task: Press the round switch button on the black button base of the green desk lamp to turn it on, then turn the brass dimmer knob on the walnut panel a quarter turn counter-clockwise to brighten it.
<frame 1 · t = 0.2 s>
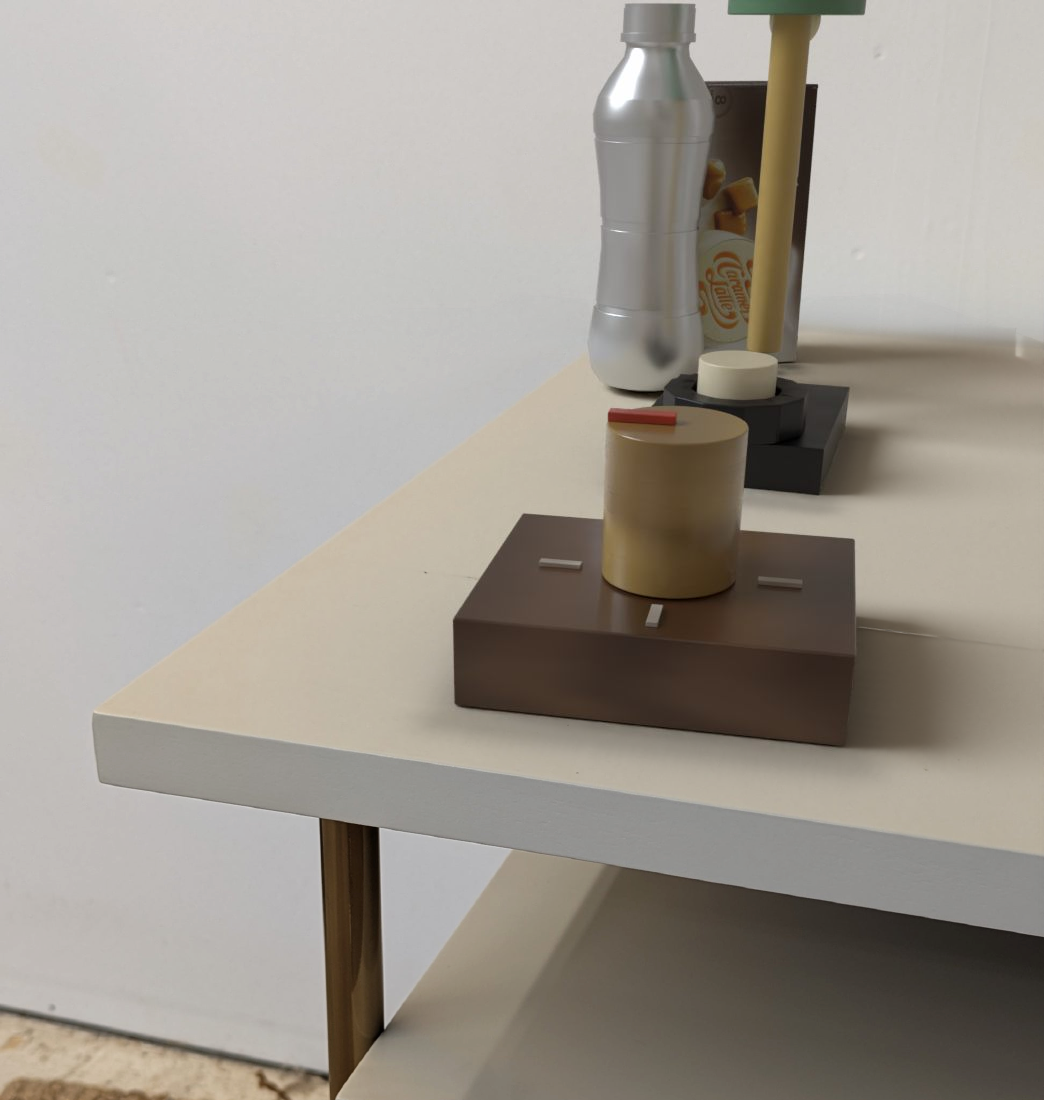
lamp: (785, 134, 65), on the black button base, point 14 cm above the table
dimmer knob: (673, 496, 42), point 6 cm above the table, hinge at 0.0°
coffee box: (712, 358, 86), on the table
black button base: (741, 451, 67), on the table
dimmer panel: (663, 657, 45), on the table
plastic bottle: (643, 392, 78), on the table
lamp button: (737, 377, 62), point 4 cm above the table, slide at 0.1 cm
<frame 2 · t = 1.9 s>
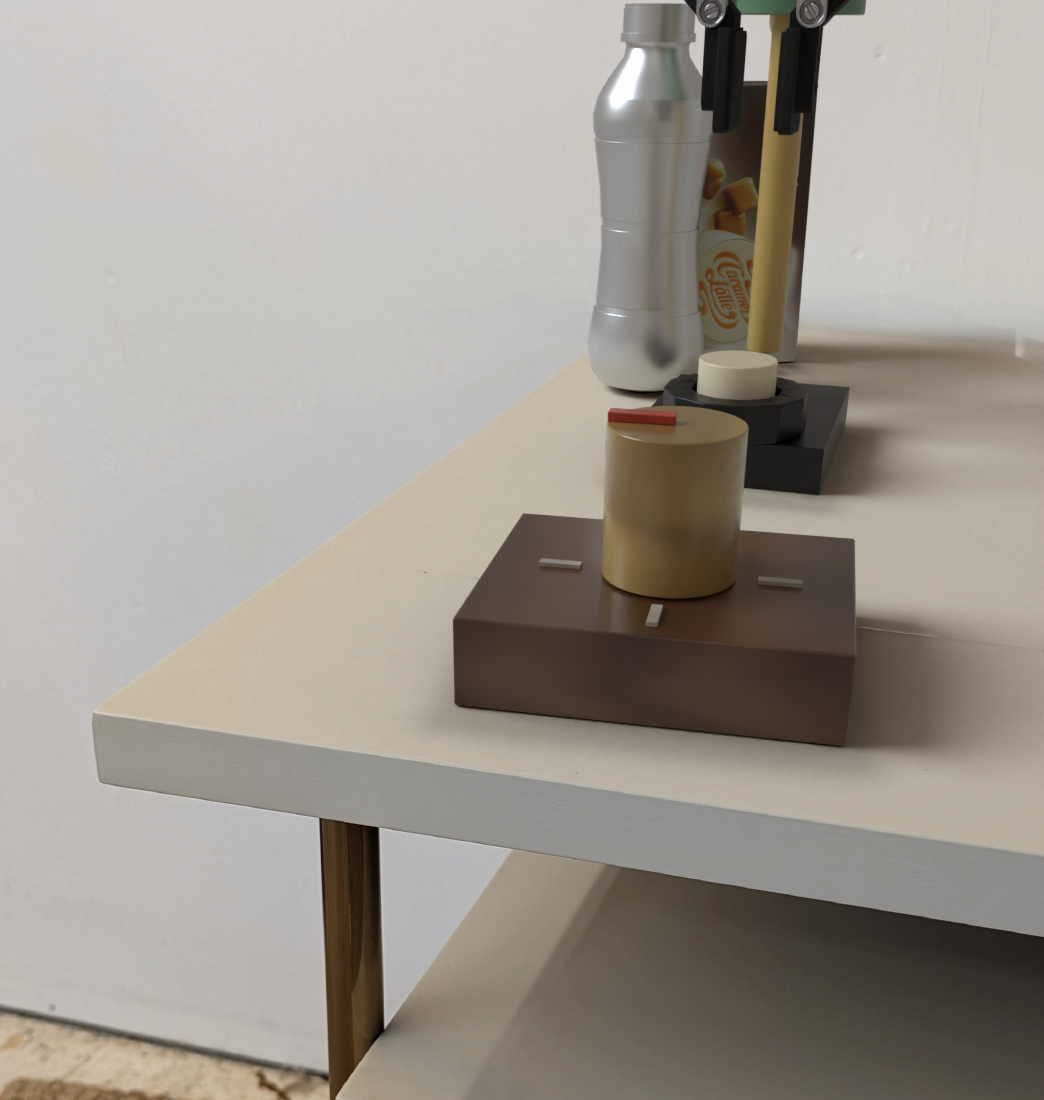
hand: (756, 128, 57), 15 cm above the table, tool pointing down, fingers closed
nothing on the table moved.
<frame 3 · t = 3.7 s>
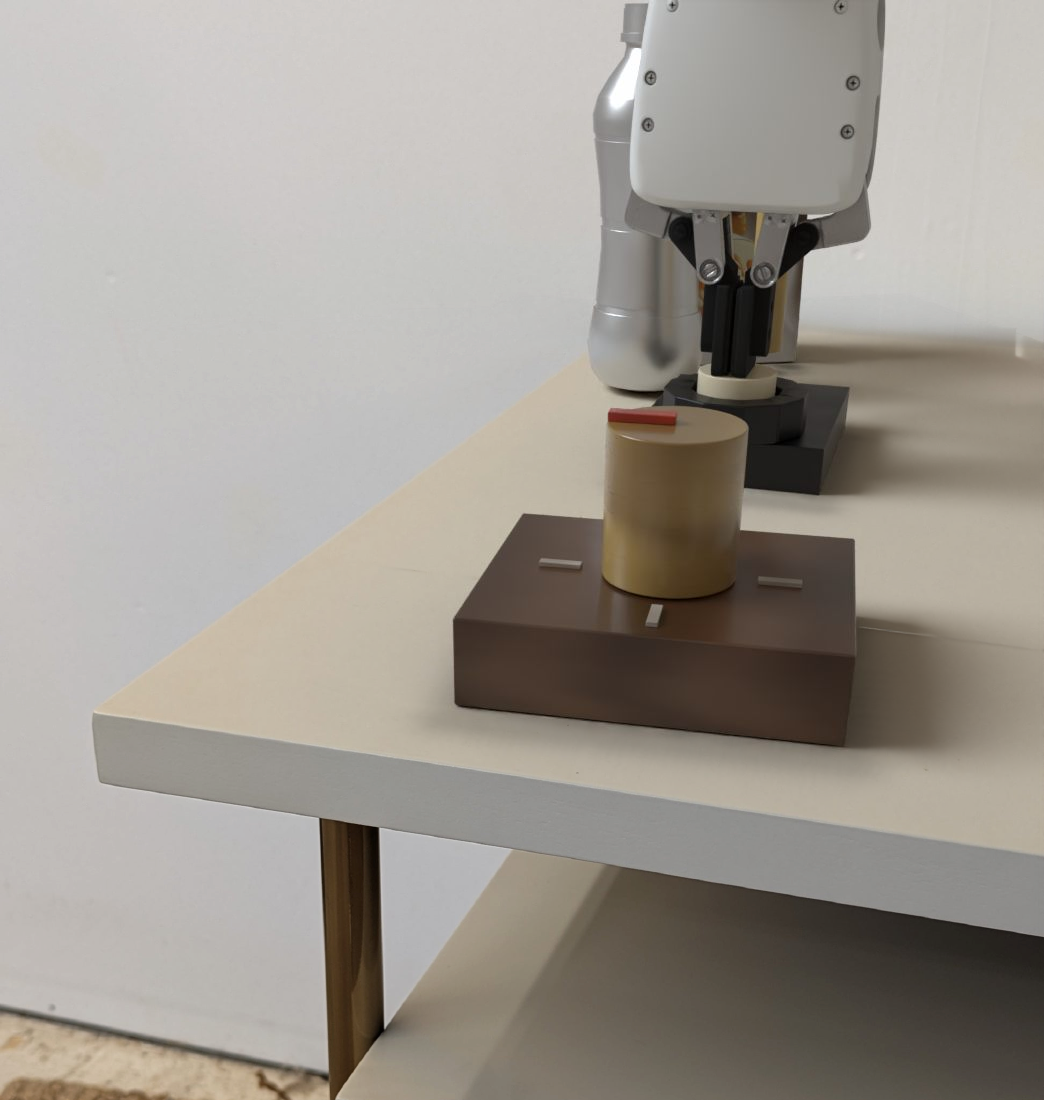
hand: (733, 369, 61), 5 cm above the table, tool pointing down, fingers closed
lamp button: (736, 389, 62), point 4 cm above the table, slide at -0.4 cm, touching gripper
everything else where it was.
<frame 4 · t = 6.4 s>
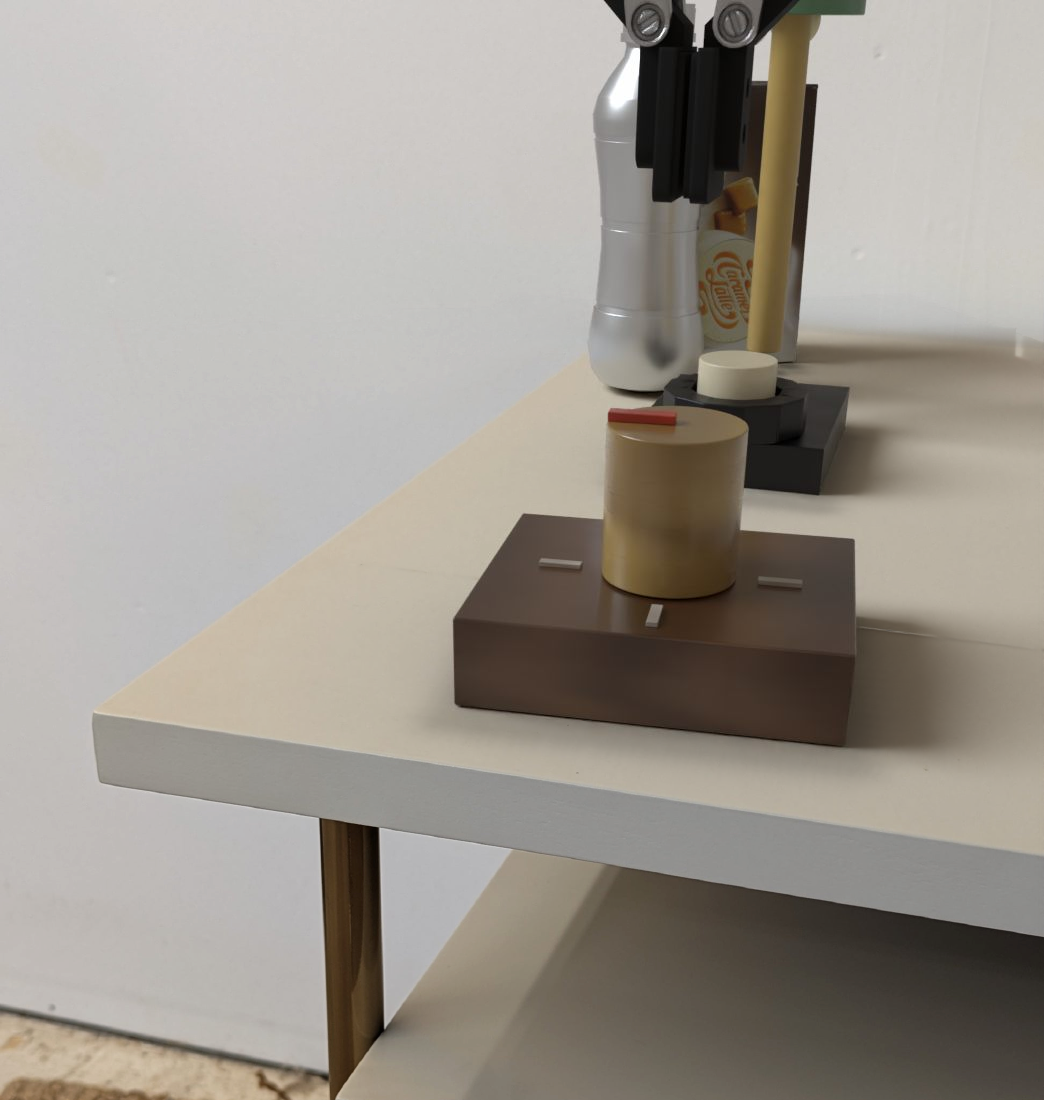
hand: (688, 196, 39), 15 cm above the table, tool pointing down, fingers closed
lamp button: (737, 377, 62), point 4 cm above the table, slide at 0.1 cm
everything else where it was.
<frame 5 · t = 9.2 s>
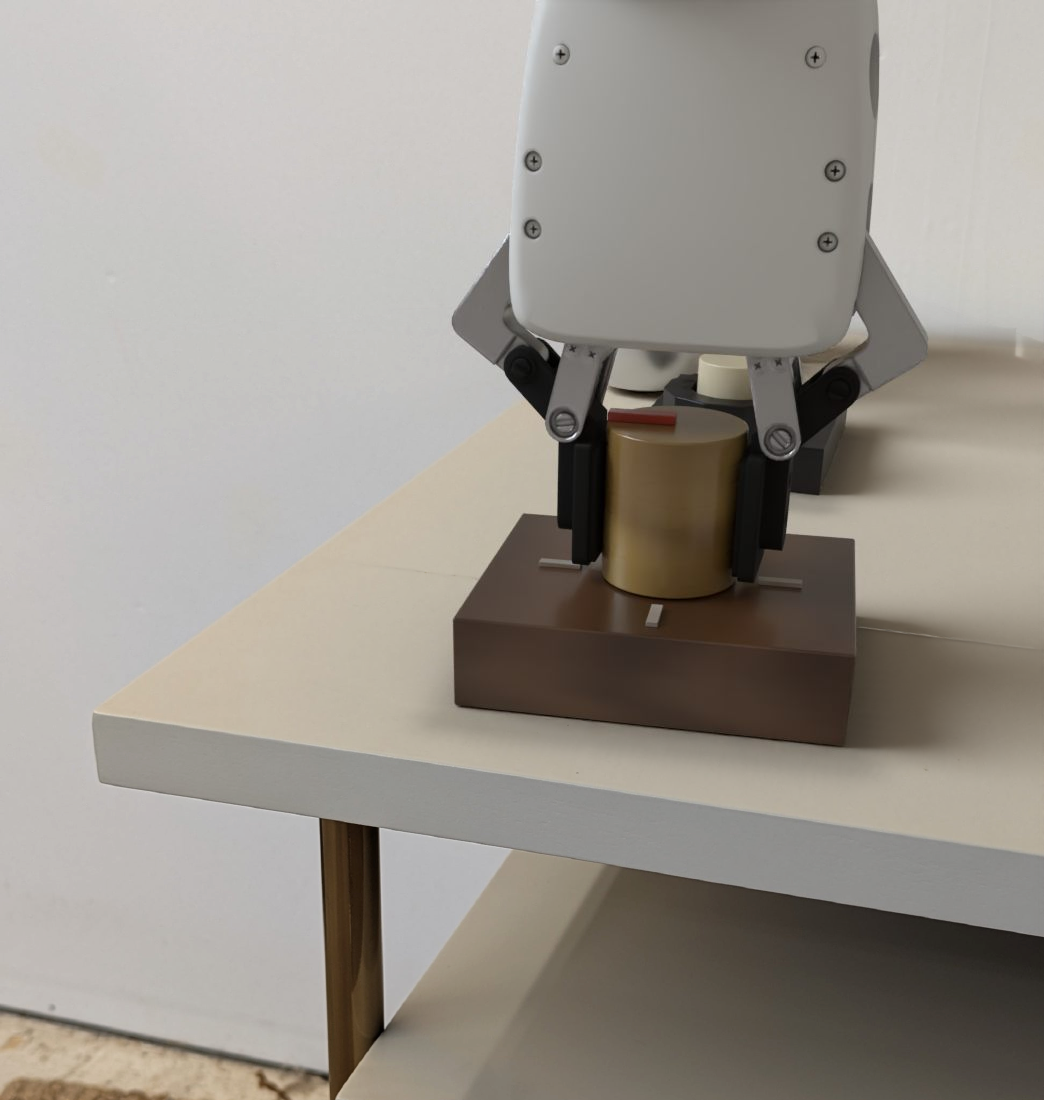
hand: (669, 553, 43), 4 cm above the table, tool pointing down, fingers closed on dimmer knob, 4 cm apart
dimmer knob: (673, 496, 42), point 6 cm above the table, hinge at -0.1°, touching gripper
everything else where it was.
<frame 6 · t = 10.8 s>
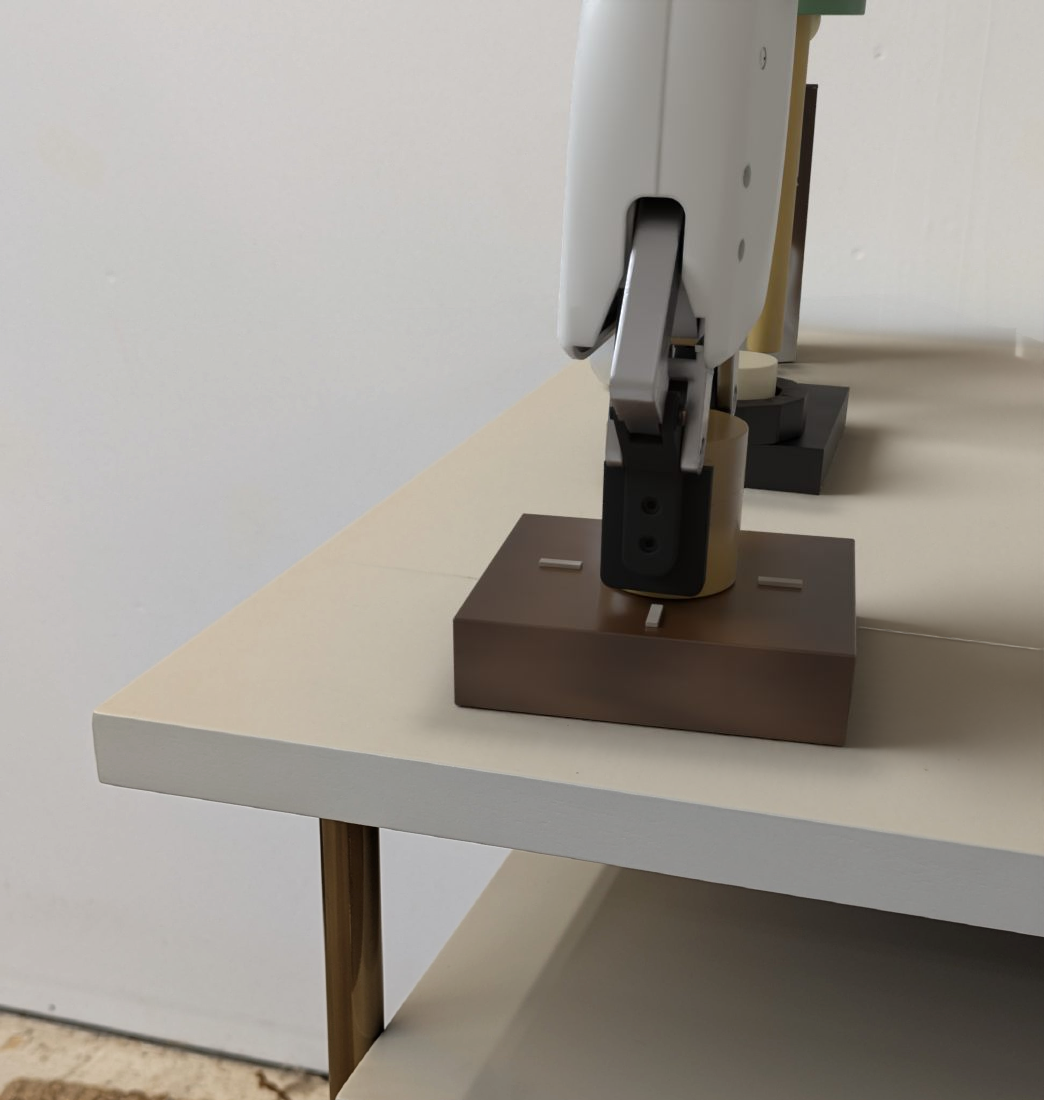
hand: (668, 554, 43), 4 cm above the table, tool pointing down, fingers closed on dimmer knob, 4 cm apart
dimmer knob: (673, 496, 42), point 6 cm above the table, hinge at 90.4°, touching gripper
everything else where it was.
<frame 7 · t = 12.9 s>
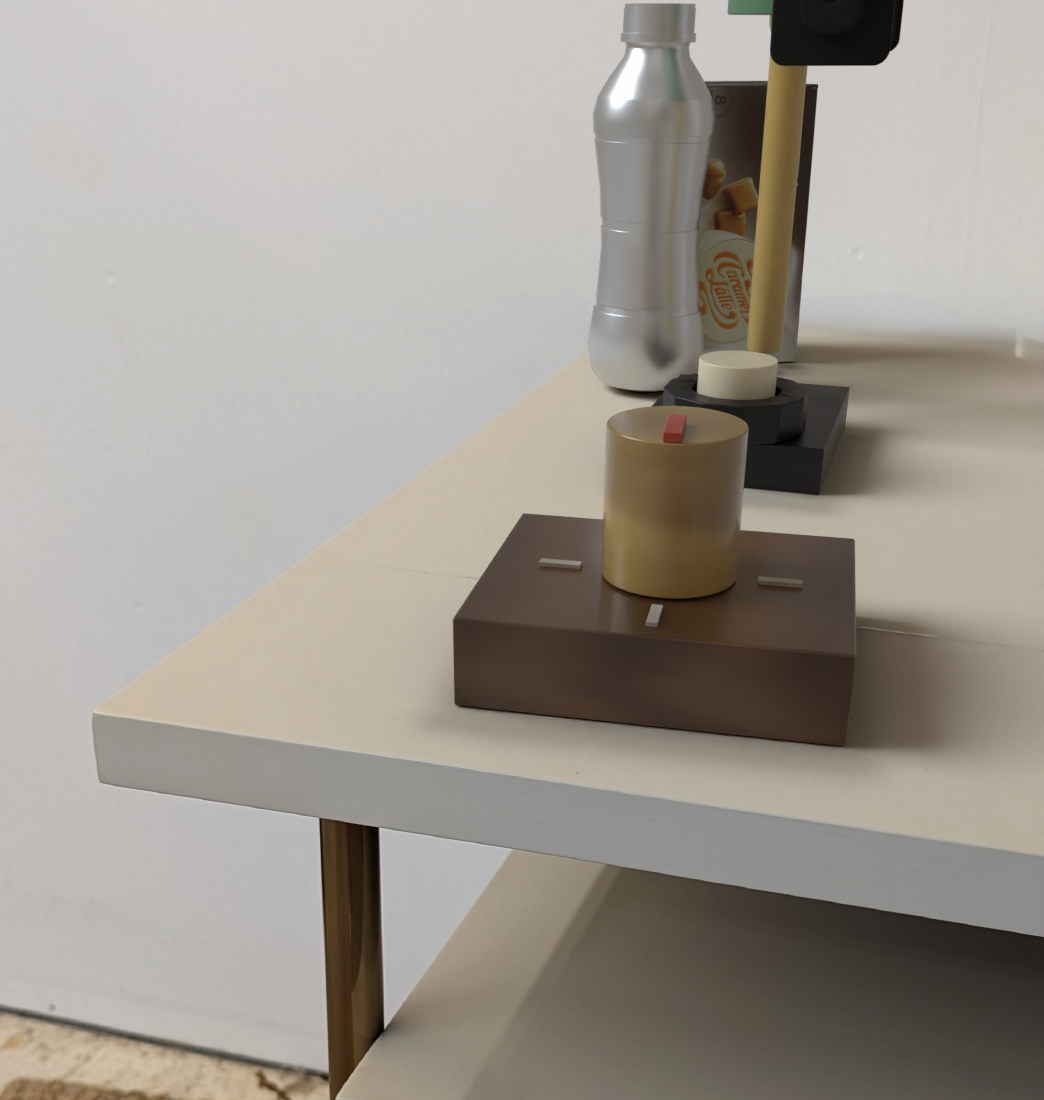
hand: (840, 57, 41), 18 cm above the table, tool pointing down, fingers open, 9 cm apart
dimmer knob: (673, 496, 42), point 6 cm above the table, hinge at 92.1°
everything else where it was.
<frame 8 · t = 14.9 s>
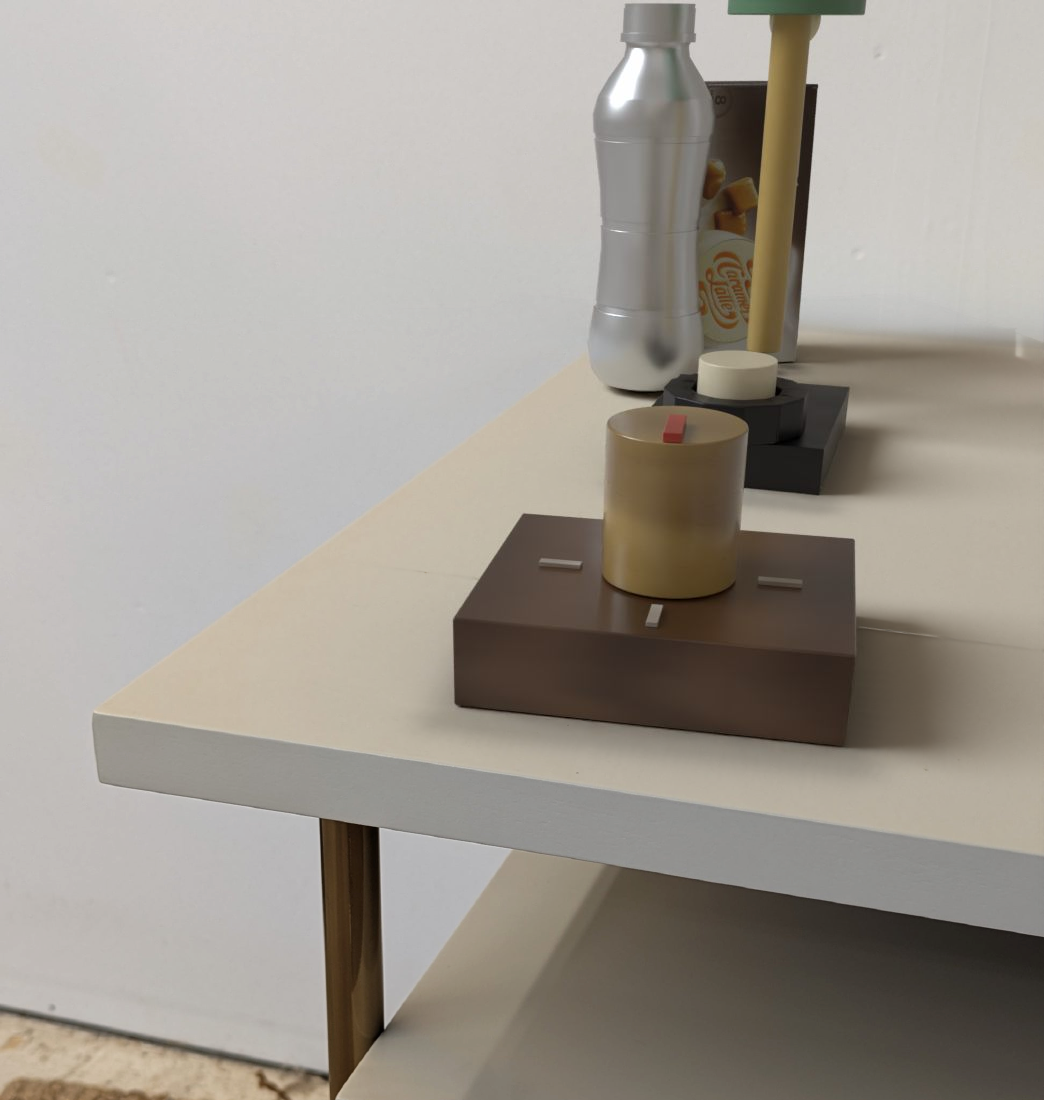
nothing on the table moved.
at the end: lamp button pushed in 1.1 cm at the most during the clip, back to where it started at the end; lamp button slide at 0.1 cm; dimmer knob at +92° (first picture: +0°) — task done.
